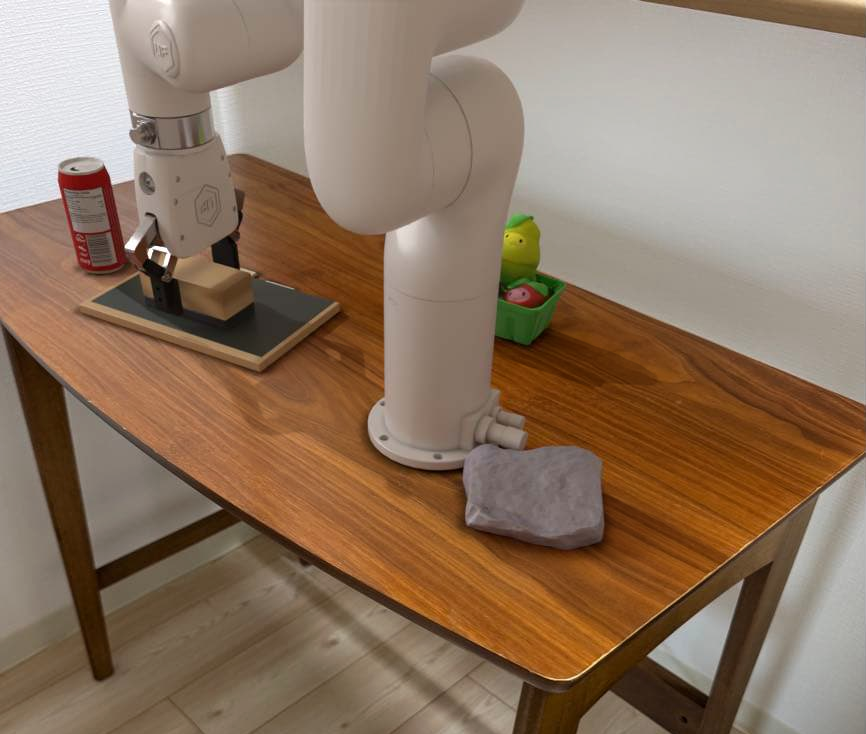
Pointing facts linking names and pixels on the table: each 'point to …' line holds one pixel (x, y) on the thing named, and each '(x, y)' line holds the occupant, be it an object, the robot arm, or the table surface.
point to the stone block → (536, 494)
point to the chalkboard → (242, 344)
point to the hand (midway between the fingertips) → (199, 293)
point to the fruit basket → (524, 284)
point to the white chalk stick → (280, 285)
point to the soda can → (92, 214)
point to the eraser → (209, 292)
